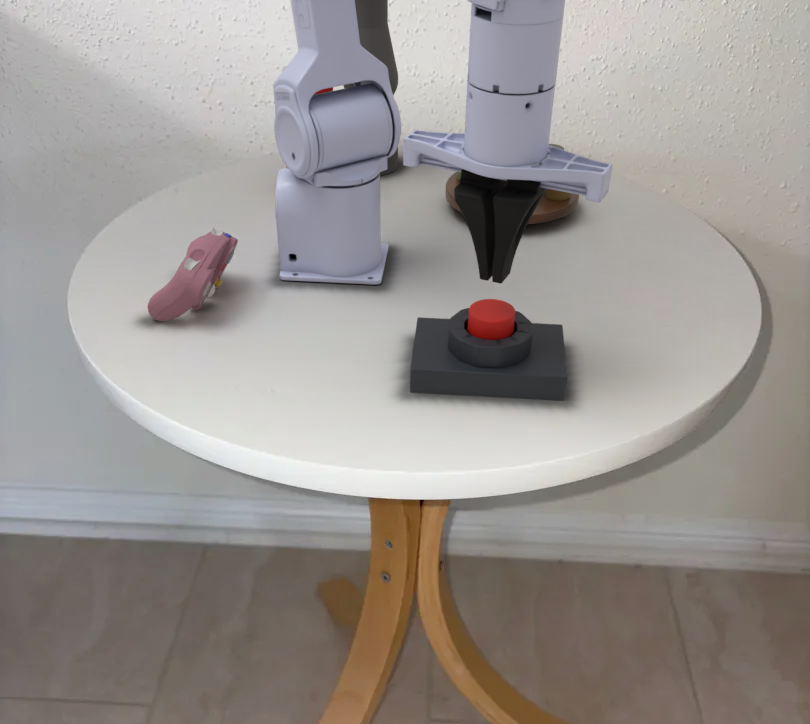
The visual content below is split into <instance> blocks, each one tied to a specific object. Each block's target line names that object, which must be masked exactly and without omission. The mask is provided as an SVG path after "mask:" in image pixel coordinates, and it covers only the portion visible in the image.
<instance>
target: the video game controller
mask: <svg viewBox="0 0 810 724" xmlns="http://www.w3.org/2000/svg"><path fill="white" fill-rule="evenodd" d="M238 241H239V240H238V238H236V237H235V236H232V235H231V234H229V233H228V232H225V231H218V230H216V229H215V227H213V228H212V229H211V231H208V232H207V233H206V234H203V235H202V236H198V237H197V238H195V239H194V240H192V241H191V242H190V243H189V245H188V248H187V251H186V255H185V257H184V259H183V260H182V261H181V263H180V264H179V266H178V268H177V270H176V272H175V274H174V276H173V277H171V279H170V280H169V281H168V283H166V285H164V286H163V287H162V288H160V289H159V290H158V291H156V292H155V293H154V294H153V295H152V296H151V297H150V298H149V300H148V303H147V312H148V314H149V316H150V317H151V318H152V319H154V320H155V321H160V322H166V321H173V320H175V319H177V318H180V317H181V316H183V315H184V314H186V313H187V312H188V311H189V310H191V309H193V310H194V311H196V312H199V311H200V309H201V307H202V306H203V304H204V302H205V301H206V298H208V299H209V298H211V297H213V296H214V294H215V292H216V289H219V288H220V287H221V285H222V280H221V278H222V275H223V273H224V271H225V270H226V268H227V266H228V265H229V264H230V262H231V260H232V259H233V257H234V254H235V250H236V248H237V246H238Z"/></svg>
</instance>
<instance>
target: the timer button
mask: <svg viewBox="0 0 810 724" xmlns="http://www.w3.org/2000/svg"><path fill="white" fill-rule="evenodd" d="M468 308H469V314H468V332H469V333H470V334H471V335H472V336H475V337H478V338H481V339H484V340H500V339H504V338H508V337H510V336H511V335H512V334H513V331H514V321H515V311H516V309H515V307H514V305H512V304H511V303H509V302H508V301H505V300H501V299H497V298H496V299H495V298H484V299H480V300H476V301H474V302H473V303H471V304H470V306H469V307H468Z"/></svg>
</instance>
